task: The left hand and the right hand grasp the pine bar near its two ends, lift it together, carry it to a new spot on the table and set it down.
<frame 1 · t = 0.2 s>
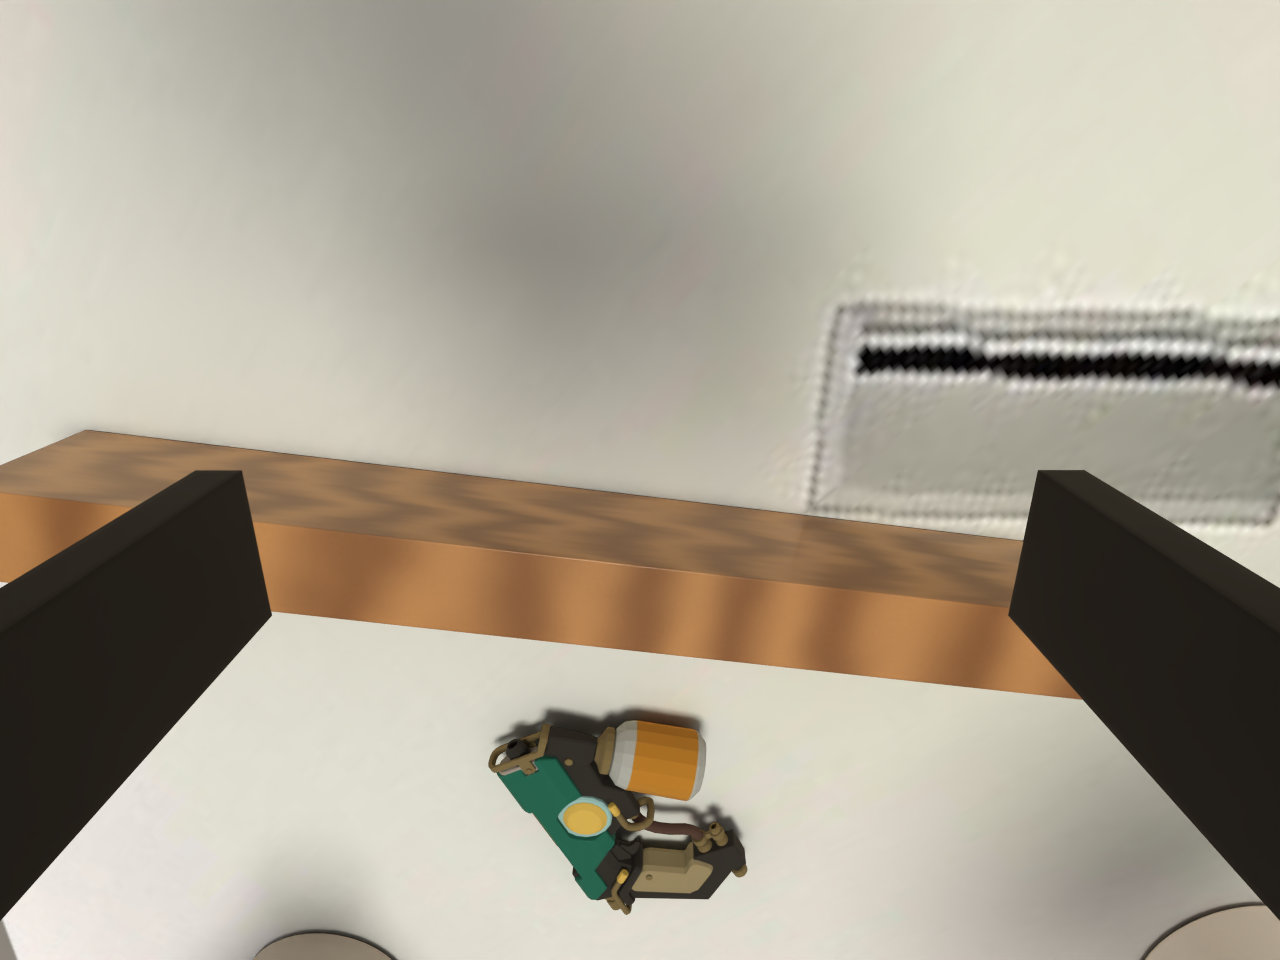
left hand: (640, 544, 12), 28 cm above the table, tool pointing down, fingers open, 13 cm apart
bar: (613, 529, 43), on the table
bust sculpture: (319, 952, 55), on the table
spray gun: (624, 796, 50), on the table
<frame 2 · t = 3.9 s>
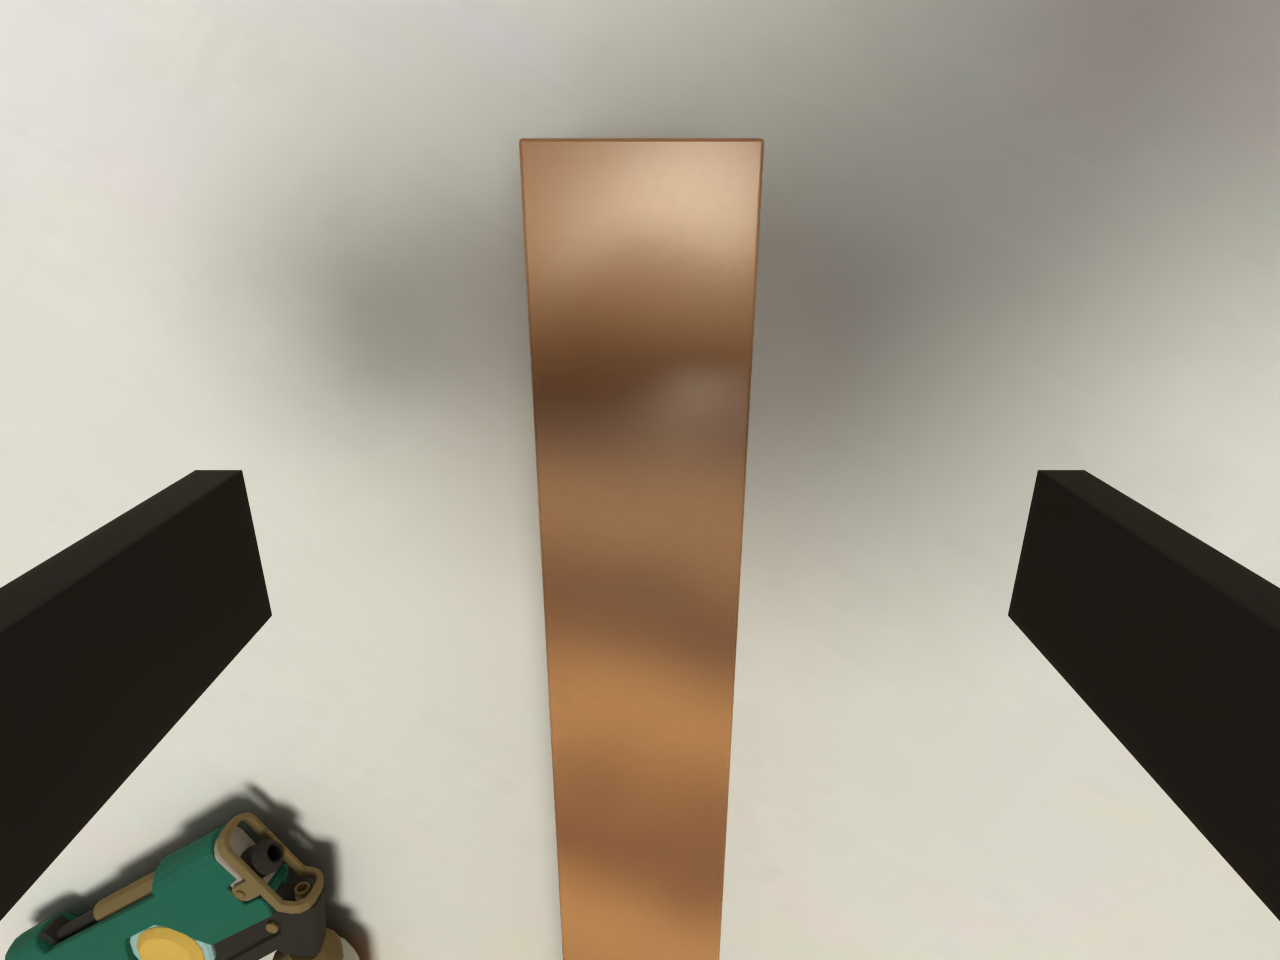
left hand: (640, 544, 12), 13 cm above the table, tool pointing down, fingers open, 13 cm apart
bar: (640, 890, 33), on the table, touching right hand
spray gun: (209, 938, 34), on the table
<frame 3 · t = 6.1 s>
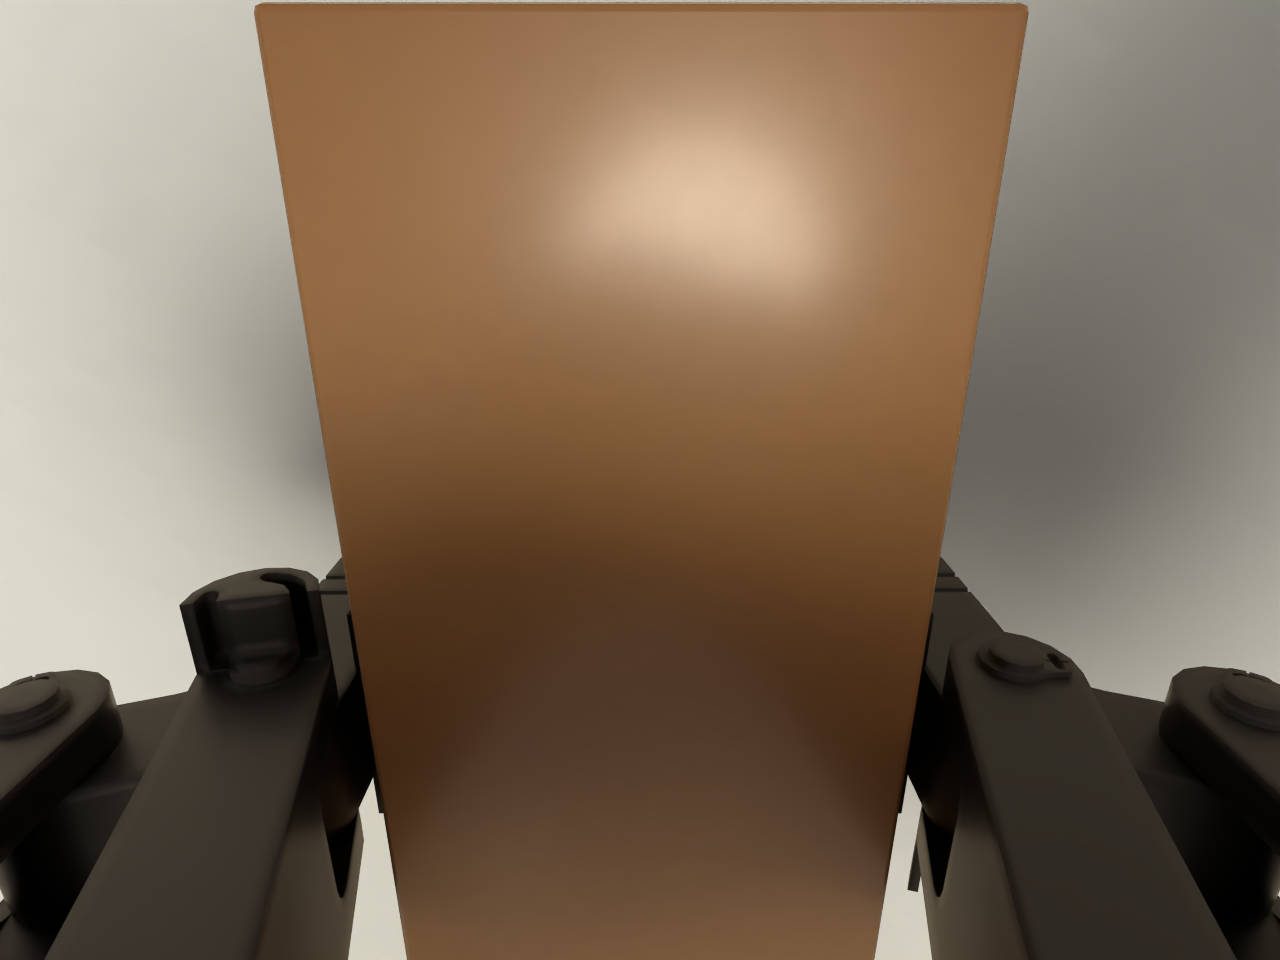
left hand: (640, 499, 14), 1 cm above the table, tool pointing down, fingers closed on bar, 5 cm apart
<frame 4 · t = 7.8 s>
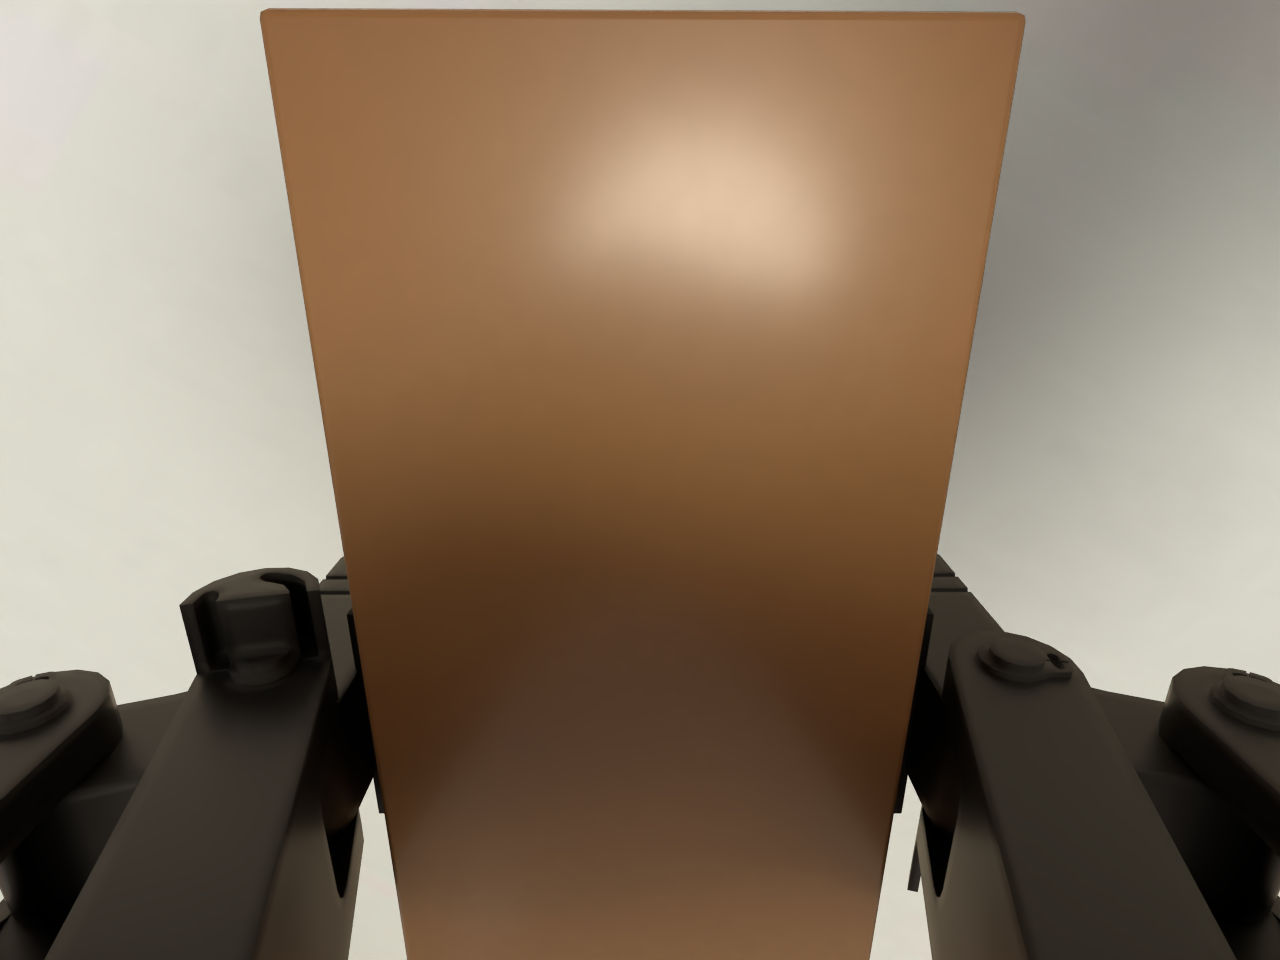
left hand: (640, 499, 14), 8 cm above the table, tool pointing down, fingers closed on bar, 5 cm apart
when the left hand's fingers open (3 cm above the table, at t = 11.3 s): bar drops 2 cm, on the table.
when the right hand's fingers open (5 cm above the table, at t = 11.5 s): bar stays where it is, on the table.
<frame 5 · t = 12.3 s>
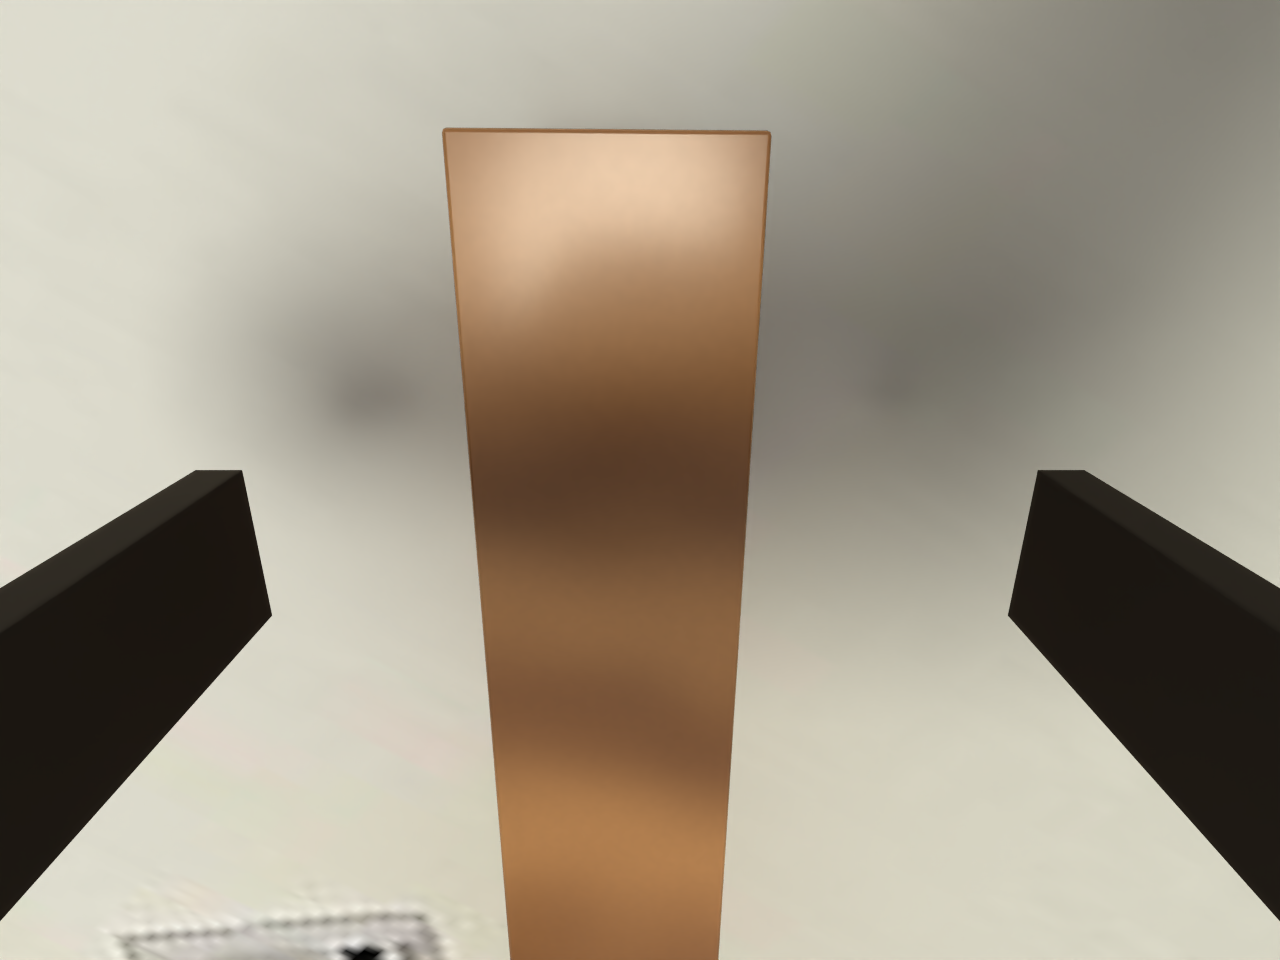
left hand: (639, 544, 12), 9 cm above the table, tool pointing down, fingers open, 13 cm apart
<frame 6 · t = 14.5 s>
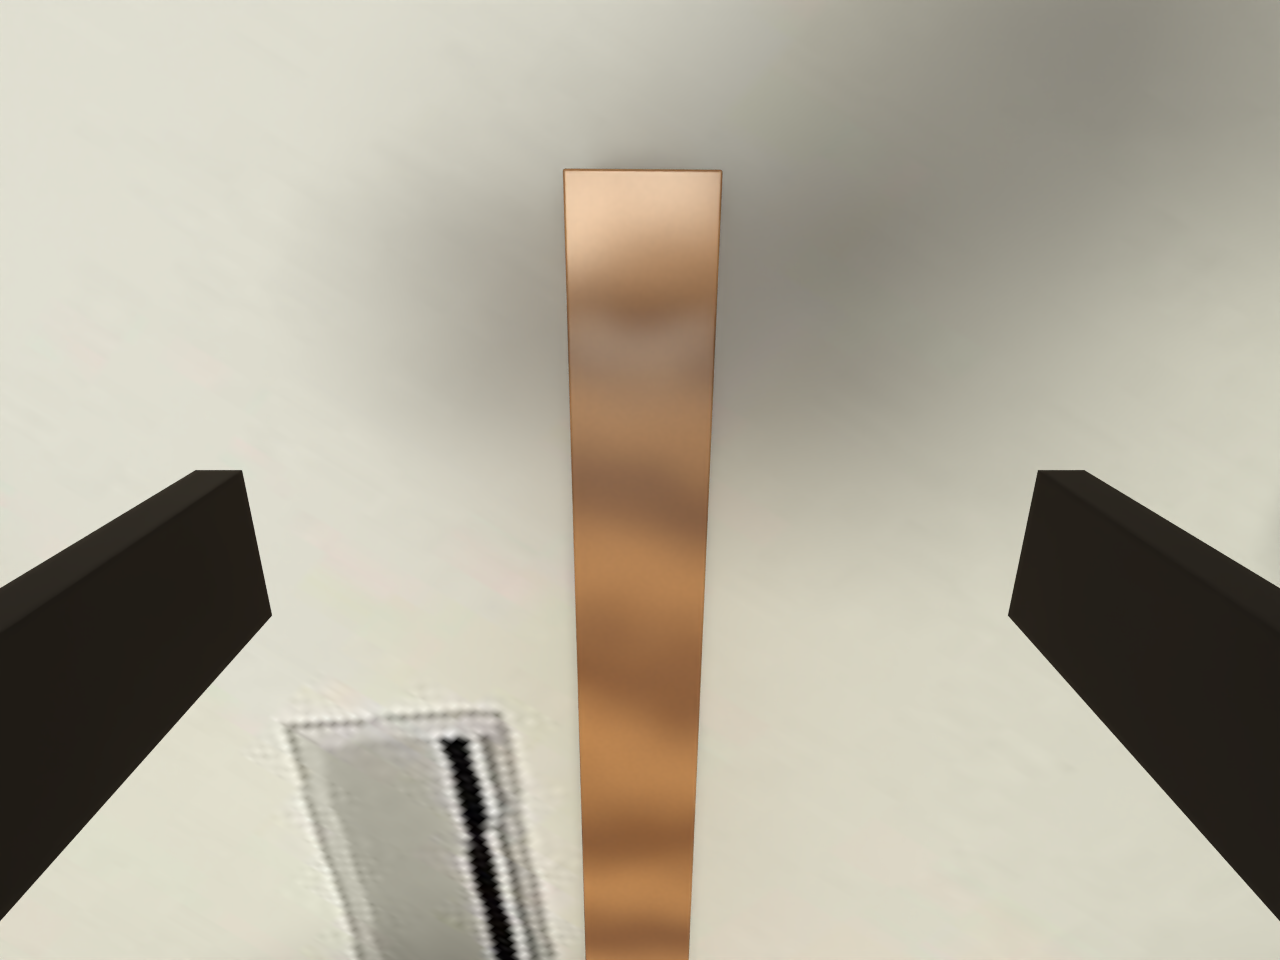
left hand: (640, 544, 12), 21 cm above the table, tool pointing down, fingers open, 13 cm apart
bar: (638, 765, 40), on the table
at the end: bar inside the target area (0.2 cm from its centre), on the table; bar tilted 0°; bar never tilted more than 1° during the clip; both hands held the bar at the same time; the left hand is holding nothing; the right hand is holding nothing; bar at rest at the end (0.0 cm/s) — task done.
